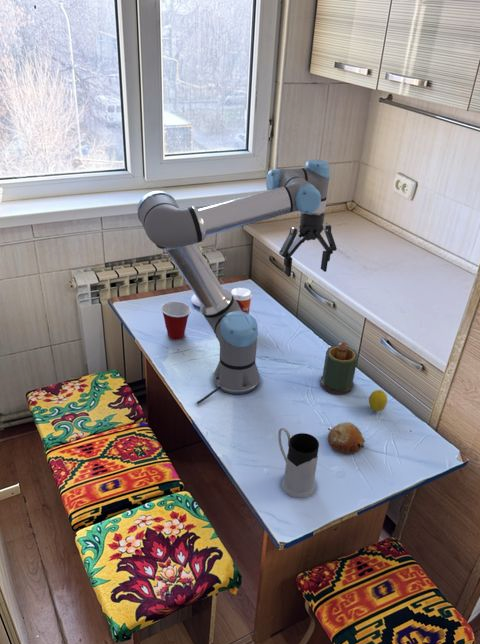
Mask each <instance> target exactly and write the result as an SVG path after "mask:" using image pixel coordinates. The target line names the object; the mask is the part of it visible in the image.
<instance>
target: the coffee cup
mask: <svg viewBox="0 0 480 644" xmlns="http://www.w3.org/2000/svg"><path fill="white" fill-rule="evenodd" d="M230 292H231V294H232V296H233V297H234V299H235V300H236V301H237V303H238V304H239V306H240V308H241V310H242V312H245V313H246V314H249V315H250V310H251V302H252V301H251V300H252V298H253V294H252V291H251V290H250V289H248V288H245V287H235V288H232V290H231V291H230Z"/></svg>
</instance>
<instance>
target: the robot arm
mask: <svg viewBox="0 0 480 644" xmlns="http://www.w3.org/2000/svg"><path fill="white" fill-rule="evenodd" d="M330 175H331V164H330V163H329V162H328V161H326V160H324V159H319V158H318V159H317V158H315V159H308V160H307V161H306V162H305V166H304V167H301V168H275V169H270V170H269V171H268V172H267V174H266V177H265V185H266V190H265V191H261V192H257V193H253V194H250V195H246V196H243V197H239V198H234V199H232V200H227V201H223V202H220V203H216V204H212V205H209V206H205V207H200V208H196V207H195V206H190V207H186V208H180V206H179V205H178V203H177V201H176V199H175V198H174V197H173V196H172V195H170V194H169V193H168V192H165V191H162V190H153V191H150V192H147V193H146V194H145V195H143V197H142V198H141V199H140V200H139V202H138V204H137V209H136V210H137V218H138V220H139V222H140V223H141V226H142V227H143V230H144V231H145V234H146V236H147V238H148V239H149V240H150V241H151V242H152V243H153V244H155V246H156V247H157V249H160V250H164V251H165V252H166V253H167V255H168V256H169V258H170V260H171V261H172V262H173V264H174V265H175V267H176V268H177V270H178V271H179V273H180V274H181V275H182V278H183V279H184V280H185V282H186V283H187V285H188V287H189V288H190V290H191V291H192V292H193V295H194V294H195V295H196V297H197V298H198V300H199V301H200V303H201V306H200V307H199V311H200V313H201V314H202V316H203V317H204V319H205V320H206V322H207V323H208V324H209V326H210V328H211V329H212V331H213V333H214V335H215V337H216V339H217V341H218V343H219V361H218V362H217V365H216V368H215V370H214V372H213V384H214V386H215V389H214V390H212V391H211V392H209V393H208V394H206V395H205V396H204V397H203V398H201V399H200V400H198V401H196V404H197V405H199V404H201V403H203V402H204V401H205V400H207V399H208V398H209V397H211V396H212V395H214V394H216V393H217V392H218V391H220V392H223V393H225V394H229V395H235V396H236V395H238V396H240V395H247V394H250V393H252V392H254V391H255V390H257V389H258V387H259V385H260V381H261V379H260V378H261V377H260V373H259V369H258V366H257V363H256V357H257V345H258V336H259V329H258V322H257V320H256V318H255V317H254V316H253V315H252V314H250V313H249V314H246V313H245V312H242V310H241V308H240V306H239V304H238V303H237V301H236V300H235V299H234V297H233V296H232V294H231V291H230V290H228V289H224V288H223V286H222V285H221V283H220V282H219V280H218V278H217V277H216V275H215V273H214V271H213V270H212V269H211V267H209V266H210V264H209V265H208V264H207V263H208V262H207V260H206V259H205V257H204V256H203V254H202V253H201V252H200V251H199V247H198V245H197V244H198V243H201V242H204V241H205V239H206V237H210V236H213V235H216V234H220V233H223V232H227V231H230V230H234V229H237V228H242V227H246V226H248V225H251V224H255V223H258V222H262V221H266V220H270V219H273V218H276V217H280V216H283V215H287V214H290V213H294V212H300V217H299V224H300V225H299V226H298V227H295V226H293V225H292V226H290V228H289V233H288V235H287V237H286V239H285V241H284V242H283V244H282V246H281V248H280V250H279V252H278V254H279V255H280V256H282V258H283V266H284V268H285V269H284V275H286V276H287V277H288V278H290V277H292V276H291V275H292V265H293V257H292V256H293V255H294V253H295V252H296V251H297V250H298V249H299V247H300V246H301V245H302V244H303V243H305V242H306V241H307V242H308V241H311V240H312V241H315V240H316V239H317V241H318V242H319V243H320V245H321V246H322V247H323V250H322V255H321V263H320V270H322V271H323V272H324V273H326V272H327V269H328V262H330V260H331V255H333V253H334V251H337V250H338V248H337V245H336V242H335V238H334V236H333V233H332V225H331V224H329V223H328V222H325V212H326V206H327V198H328V191H329V182H330V179H331V176H330ZM323 231H324V233H325V236H326V239H327V242H326V240H325V239H324V237H323V236H322V232H323Z"/></svg>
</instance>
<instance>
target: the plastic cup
mask: <svg viewBox="0 0 480 644" xmlns="http://www.w3.org/2000/svg"><path fill="white" fill-rule="evenodd" d="M160 311H161V312H162V316H163V319H164V324H165V325H164V326H165V329H166V333H167V336H168V338H169V339H170V340H173V341H179V340H182V339H184V337H185V332H186V330H187V329H186V328H187V323H188V318H189V316H190V314H191V312H192V308H191V306H190V304H187V302H186V303H185V302H182V301H178V300H173V301H166V302H165V303H163V304H161V307H160Z"/></svg>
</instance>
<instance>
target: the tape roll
mask: <svg viewBox="0 0 480 644" xmlns="http://www.w3.org/2000/svg"><path fill="white" fill-rule="evenodd" d="M337 346H338V344H337V345H332V346H329V347H327V350H326V352H325V356H324V357H325V358H324V364H323V370H322V375H323V376H321V377H322V380H323V383H324V384H325V385H326V386H328V387H329V388H331V389H335V390H346V389H348V388H350V387H351V386H352V384H353V383H354V380H355V379H354V378H355V374H356V369H357V363H358V358H359V355H358V352H357V351H356V350H355V349H353V348H351V347H350V346H348V347H349V348H348V351H347V354H346V360H339V359H336V357H337V351H338V349H337ZM353 385H354V384H353Z"/></svg>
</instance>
